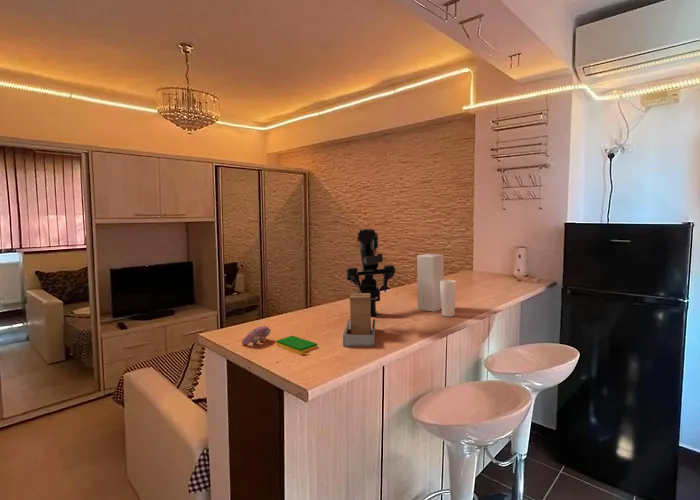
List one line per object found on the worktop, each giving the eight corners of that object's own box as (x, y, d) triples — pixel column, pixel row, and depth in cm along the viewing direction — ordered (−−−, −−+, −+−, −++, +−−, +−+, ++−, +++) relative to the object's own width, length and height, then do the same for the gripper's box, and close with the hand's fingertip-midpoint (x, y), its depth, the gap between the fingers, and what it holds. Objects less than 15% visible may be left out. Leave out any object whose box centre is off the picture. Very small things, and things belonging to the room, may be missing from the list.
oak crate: (352, 329, 147) (351, 293, 146) (371, 330, 146) (370, 293, 145) (350, 335, 140) (349, 297, 138) (370, 335, 139) (369, 297, 138)
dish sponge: (301, 356, 123) (300, 349, 123) (276, 347, 133) (275, 340, 133) (318, 350, 128) (317, 343, 128) (292, 341, 138) (292, 335, 138)
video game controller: (248, 351, 133) (254, 334, 131) (239, 343, 135) (245, 327, 133) (268, 343, 141) (274, 327, 139) (260, 336, 143) (265, 320, 141)
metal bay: (348, 330, 148) (348, 319, 148) (375, 331, 147) (375, 319, 147) (343, 348, 128) (342, 335, 128) (374, 348, 128) (373, 335, 127)
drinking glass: (456, 317, 164) (456, 282, 162) (440, 317, 165) (440, 282, 164) (455, 313, 170) (455, 279, 169) (439, 313, 172) (439, 279, 170)
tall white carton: (417, 309, 180) (416, 255, 178) (427, 305, 186) (427, 253, 184) (434, 312, 174) (433, 256, 172) (444, 308, 180) (443, 254, 178)
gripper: (346, 248, 148) (350, 285, 140) (394, 245, 150) (401, 281, 142) (344, 262, 158) (348, 297, 150) (389, 259, 160) (396, 294, 152)
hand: (373, 292), depth 148 cm, fingers open, 9 cm apart
